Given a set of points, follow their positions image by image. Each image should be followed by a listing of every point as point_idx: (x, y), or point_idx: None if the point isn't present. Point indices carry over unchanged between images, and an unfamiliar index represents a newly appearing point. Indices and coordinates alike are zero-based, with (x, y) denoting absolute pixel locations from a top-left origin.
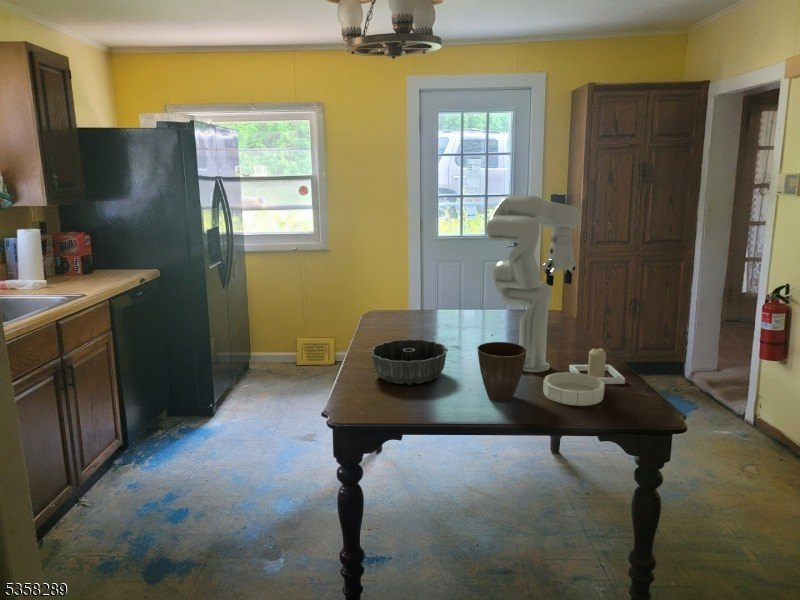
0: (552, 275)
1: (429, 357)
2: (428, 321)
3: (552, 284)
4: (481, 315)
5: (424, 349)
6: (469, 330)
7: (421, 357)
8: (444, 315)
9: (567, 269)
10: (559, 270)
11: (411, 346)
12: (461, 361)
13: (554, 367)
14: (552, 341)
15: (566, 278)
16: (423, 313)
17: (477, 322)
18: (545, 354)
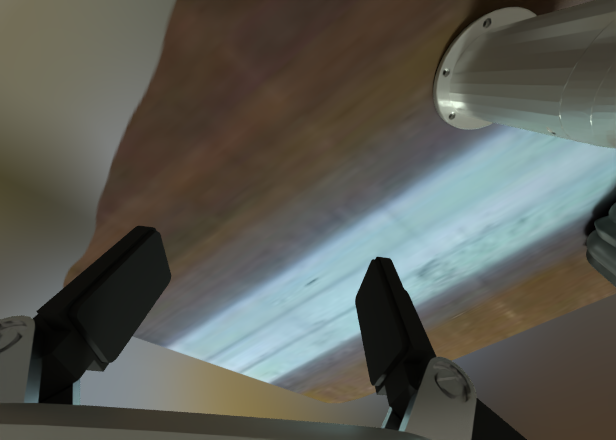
0: (412, 357)
1: (605, 237)
2: (326, 361)
3: (390, 263)
4: (232, 348)
5: (610, 258)
6: (319, 314)
7: (592, 250)
8: (282, 367)
9: (121, 419)
10: (368, 428)
11: (613, 278)
12: (510, 215)
13: (450, 19)
14: (244, 186)
15: (140, 298)
16: (298, 381)
17: (269, 331)
18: (517, 23)
